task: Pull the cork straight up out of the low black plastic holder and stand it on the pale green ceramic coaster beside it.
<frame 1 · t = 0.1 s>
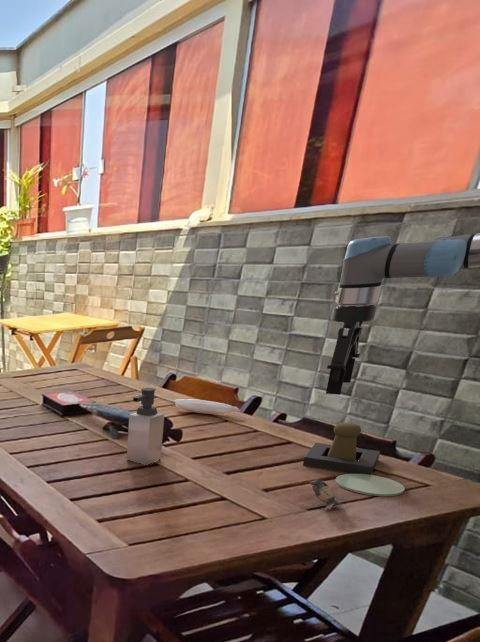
hand: (338, 388, 128), 20 cm above the counter, tool pointing down, fingers open, 13 cm apart
coaster: (368, 485, 118), on the counter
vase: (320, 505, 113), on the counter
cork: (340, 463, 131), resting in holder
holder: (340, 462, 131), on the counter
soap dispenser: (140, 461, 147), on the counter
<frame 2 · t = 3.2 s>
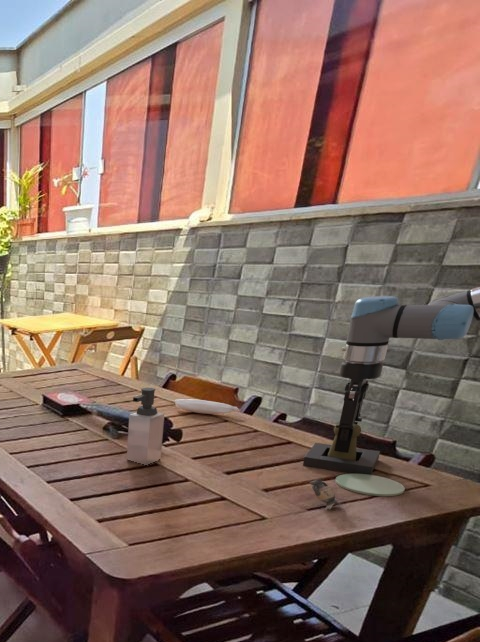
hand: (343, 447, 130), 4 cm above the counter, tool pointing down, fingers closed on cork, 5 cm apart
cork: (340, 463, 131), resting in holder, touching gripper
everything else where it was.
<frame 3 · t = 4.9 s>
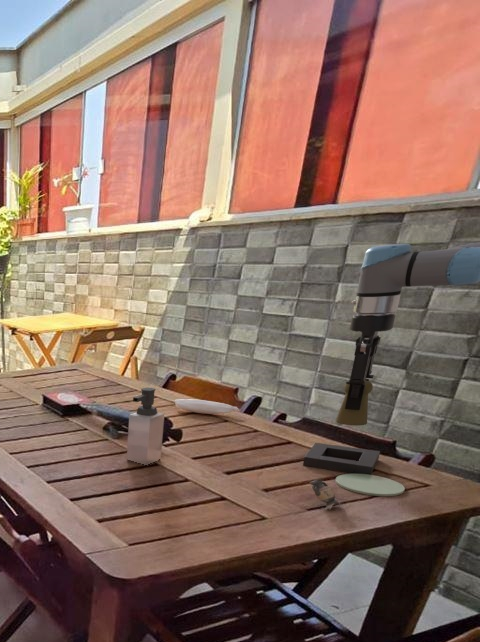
hand: (354, 406, 125), 16 cm above the counter, tool pointing down, fingers closed on cork, 5 cm apart
cork: (350, 422, 127), point 11 cm above the counter, touching gripper
everything else where it was.
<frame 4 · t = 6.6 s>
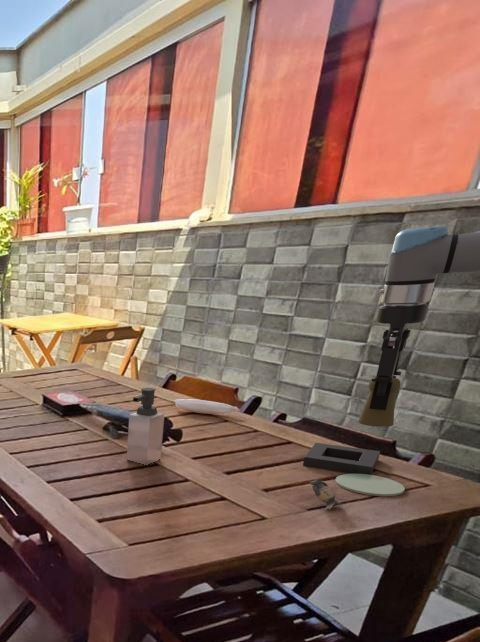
hand: (379, 405, 115), 19 cm above the counter, tool pointing down, fingers closed on cork, 5 cm apart
cork: (375, 423, 116), point 15 cm above the counter, touching gripper
everything else where it was.
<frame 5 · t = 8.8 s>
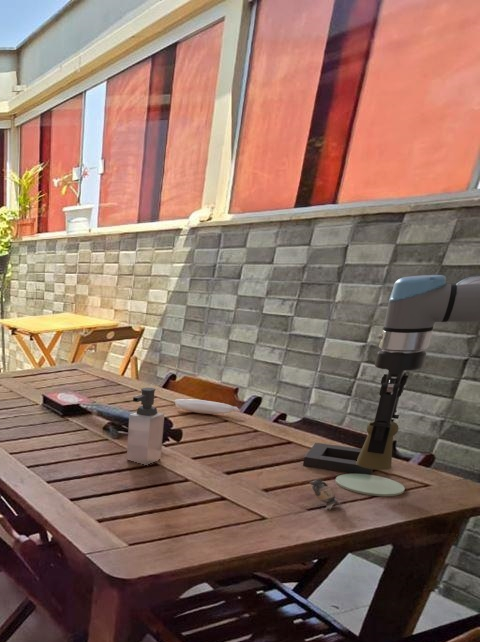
hand: (377, 448, 115), 10 cm above the counter, tool pointing down, fingers closed on cork, 5 cm apart
cork: (372, 465, 117), point 5 cm above the counter, touching gripper
everything else where it was.
when the fingers open (5 cm above the counter, at t = 10.3 s): cork stays where it is, resting on coaster.
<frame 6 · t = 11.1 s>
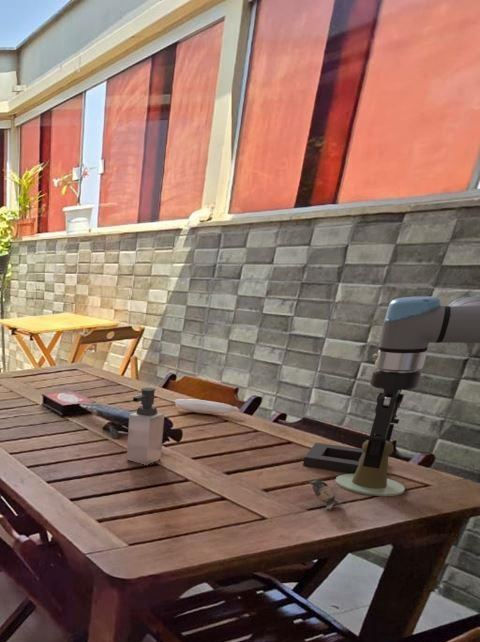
hand: (375, 457, 116), 7 cm above the counter, tool pointing down, fingers open, 13 cm apart
cork: (368, 484, 118), resting on coaster
everything else where it was.
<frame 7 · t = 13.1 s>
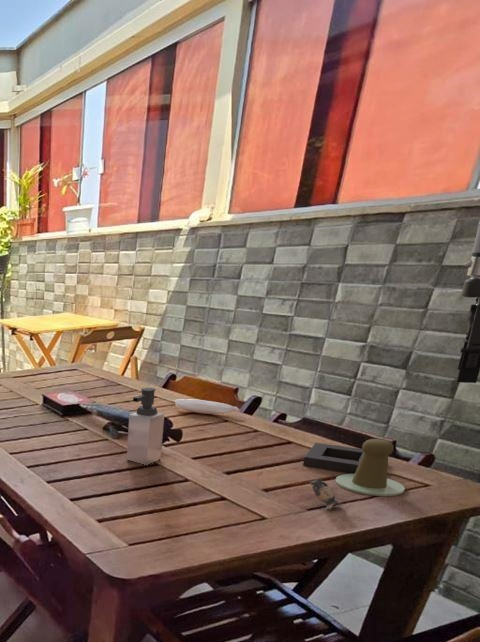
hand: (466, 375, 109), 25 cm above the counter, tool pointing down, fingers open, 13 cm apart
nothing on the counter moved.
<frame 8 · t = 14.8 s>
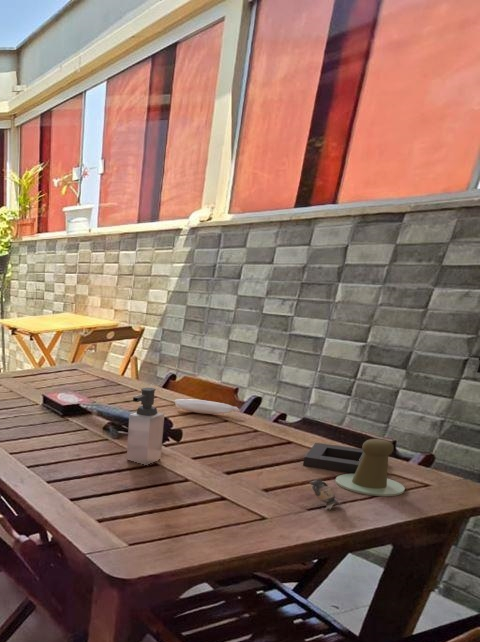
nothing on the counter moved.
at the end: cork inside the target area on the coaster (0.0 cm from its centre), point 0.4 cm above the coaster's base; cork tilted 0°; the gripper is holding nothing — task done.
